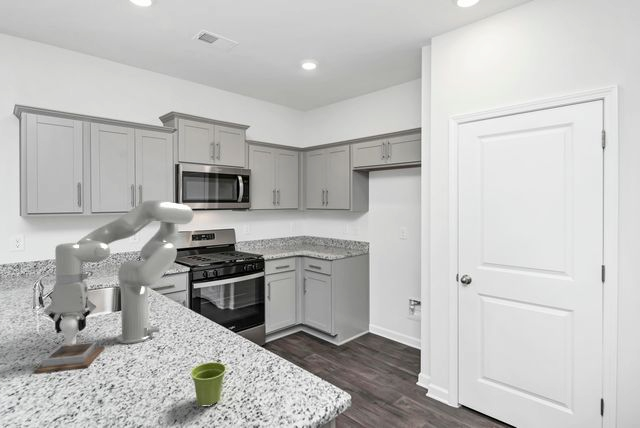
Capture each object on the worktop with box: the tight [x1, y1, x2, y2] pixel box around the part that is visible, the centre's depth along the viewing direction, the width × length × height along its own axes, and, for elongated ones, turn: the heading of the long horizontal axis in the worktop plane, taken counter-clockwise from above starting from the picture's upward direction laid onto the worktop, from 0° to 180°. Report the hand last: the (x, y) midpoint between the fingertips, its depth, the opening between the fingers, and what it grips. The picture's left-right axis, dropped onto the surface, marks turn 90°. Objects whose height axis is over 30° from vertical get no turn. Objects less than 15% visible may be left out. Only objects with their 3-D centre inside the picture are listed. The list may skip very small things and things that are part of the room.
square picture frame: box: [41, 341, 99, 368], centre depth 117 cm, size 12×12×2 cm
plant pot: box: [190, 361, 227, 406], centre depth 93 cm, size 9×9×9 cm
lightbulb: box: [60, 313, 80, 346], centre depth 117 cm, size 6×6×11 cm
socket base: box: [33, 345, 105, 374], centre depth 117 cm, size 15×15×1 cm
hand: (70, 330), depth 117 cm, fingers closed on lightbulb, 5 cm apart
